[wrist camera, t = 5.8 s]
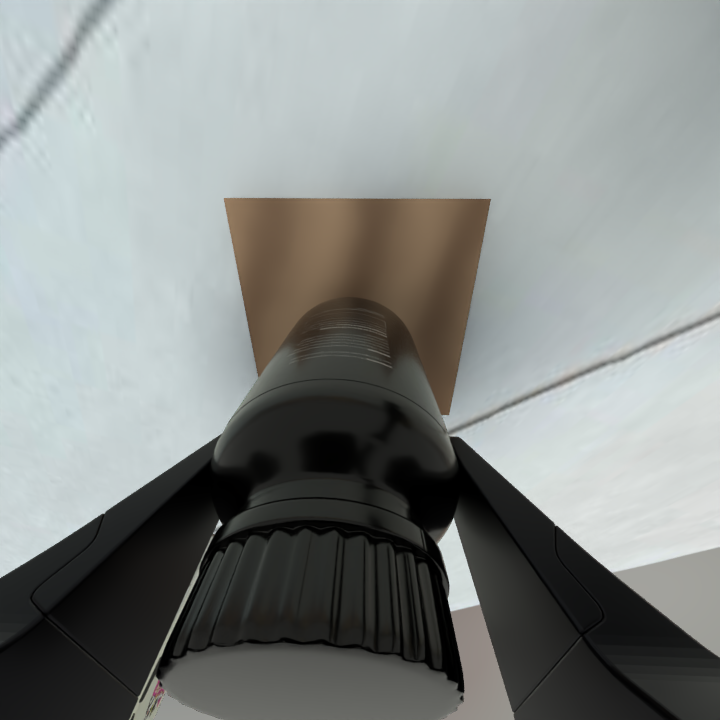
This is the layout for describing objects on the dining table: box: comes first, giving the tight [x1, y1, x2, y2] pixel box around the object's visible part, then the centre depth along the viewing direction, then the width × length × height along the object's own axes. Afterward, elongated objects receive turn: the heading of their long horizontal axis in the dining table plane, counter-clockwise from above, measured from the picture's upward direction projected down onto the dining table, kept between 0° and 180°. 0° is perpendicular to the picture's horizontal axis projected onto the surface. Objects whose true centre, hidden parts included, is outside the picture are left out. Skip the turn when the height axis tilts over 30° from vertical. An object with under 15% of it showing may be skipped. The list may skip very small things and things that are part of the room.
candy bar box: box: [129, 534, 214, 720], centre depth 29 cm, size 11×5×16 cm, turn 163°
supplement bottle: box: [155, 297, 464, 720], centre depth 9 cm, size 7×7×12 cm
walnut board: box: [224, 198, 491, 415], centre depth 20 cm, size 16×16×1 cm
